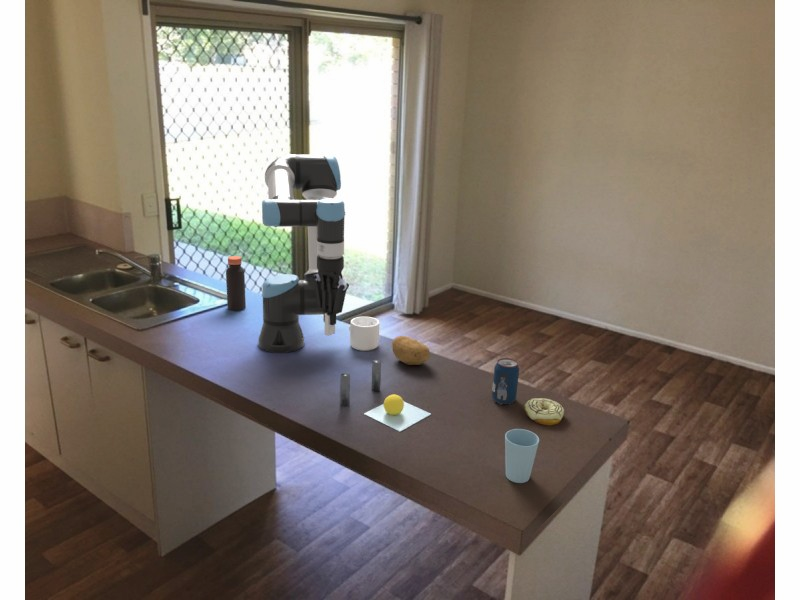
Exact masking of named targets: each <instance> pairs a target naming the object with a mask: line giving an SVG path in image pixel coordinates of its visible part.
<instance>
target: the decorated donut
mask: <svg viewBox="0 0 800 600" xmlns="http://www.w3.org/2000/svg"><path fill="white" fill-rule="evenodd" d="M524 410H525V413H526V416H528V417H529V419H530V420H532V421H534V422H535V423H536V424H540V425H544V426H554V425H557V424H559V423H560V422H561V421H562V419H563V417H564V415H565V410H564V407H563V406H562V404H560V403H559V402H557V401H556V400H552V399H550V398H544V397H543V398H542V397H541V398H539V397H537V398H531V399H529V400H528V401H526V403H525V404H524Z"/></svg>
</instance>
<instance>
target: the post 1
mask: <svg viewBox="0 0 800 600" xmlns="http://www.w3.org/2000/svg"><path fill="white" fill-rule="evenodd" d="M339 393H340V398H339V399H340V400H339V405H340V406H341V407H343V406H344V408H346V407H349V406H350V405H351V403H350V402H351V396H350V395H351V374H350V373H348V372H343V373H340V391H339Z"/></svg>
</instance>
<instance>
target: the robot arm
mask: <svg viewBox="0 0 800 600" xmlns="http://www.w3.org/2000/svg"><path fill="white" fill-rule="evenodd" d="M264 182H265V185H266V186H267V190H268V191H267V192H268V199H264V200H262V202H261V210H262V212H261V216H262V219H261V220H262V225H264V226H265V227H274V228H278V227H279V228H281V227H283V228H284V227H285V228H286V227H288V228H289V227H290V228H291V227H307V239H308V240H307V247H308V270H307V271H306V272H305V273H304V279H300V278H299V276H298V275H296V274H291V273H286V274H285V273H282V274H277V275H273V276H271V277H268V278H267V279H266V280H264V282H263V283H262V291H261V292H262V293H261V297H262V321H263V322H262V326H261V330H260V333H259V335H258V341H257V343H258V347H259V349H261V350H262V351H265V352H269V353H276V354H279V353H282V354H283V353H291V352H296V351H297V350H301V348H303V347H304V345H305V336H304V334H303V333H304V332H303V330H302V328H301V325H300V321H299V320H300V316H312V315H313V316H317V315H318V316H319V315H322V316H323V323H324V335H325V336H326V337H328V336H332V335H334V334H336V324H337V315H338V314H340V313H343V308H344V304H345V299H346V294H347V290H348V289H349V287H350V284H349V282H345V279H344V277H343V274H342V271H343V270H344V268H345V267H344V265H345V257H344V255H345V217H346V212H345V211H346V210H345V202H344V201H343V200H342V199H338V198H336V196H337V193H338V191H339V190H341V189H342V188H341V187H342V180H341V170H340V165H339V162H338V159H337V158H336V157H335V156H334V155H329V154H327V155H326V154H323V153H322V154H296V153H295V154H293V153H290V154H285V155H282V156H280V157H278V158H276V159H274V160H273V161H272V162H271V163H270V164H269V165H268V166H267V168H266V170H265V173H264ZM294 190H301V194H302V195H301V196H302V197H303V198H305V199H295V197H294V196H295V194H294Z"/></svg>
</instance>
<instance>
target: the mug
mask: <svg viewBox="0 0 800 600" xmlns="http://www.w3.org/2000/svg"><path fill="white" fill-rule="evenodd" d="M380 324H381V323H380V321H379V319H378V318H375V317H371V316H357V317H354V318H352V319H351V320H350V325H349V327H348V330H349V341H350V342H349V343H350V344H349V345H350V346H351V347H352V348H353V349H355V350H358V351H363V352H365V351H366V352H367V351H372V350H375V349H376V348H377V347H379V344H380Z"/></svg>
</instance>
